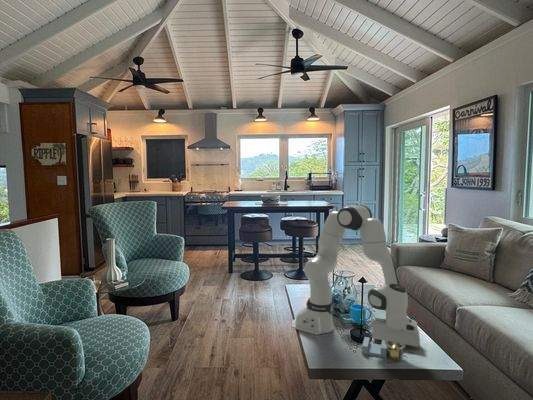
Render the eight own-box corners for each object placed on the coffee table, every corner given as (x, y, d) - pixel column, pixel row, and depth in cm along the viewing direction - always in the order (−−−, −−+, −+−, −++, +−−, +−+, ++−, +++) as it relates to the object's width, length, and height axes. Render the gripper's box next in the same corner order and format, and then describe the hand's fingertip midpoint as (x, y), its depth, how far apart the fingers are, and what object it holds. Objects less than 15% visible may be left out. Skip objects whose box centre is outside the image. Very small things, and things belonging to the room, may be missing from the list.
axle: (389, 359, 151) (389, 352, 150) (391, 344, 163) (391, 337, 163) (398, 361, 149) (398, 353, 149) (399, 346, 162) (399, 339, 162)
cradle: (362, 353, 157) (362, 345, 157) (364, 344, 166) (364, 336, 165) (386, 357, 153) (386, 350, 153) (387, 348, 162) (387, 340, 161)
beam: (374, 342, 167) (374, 332, 167) (375, 336, 173) (375, 327, 172) (419, 350, 160) (419, 340, 159) (418, 344, 165) (419, 334, 165)
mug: (353, 324, 186) (353, 310, 186) (348, 318, 194) (348, 304, 194) (374, 323, 187) (374, 309, 187) (368, 317, 196) (368, 303, 195)
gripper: (371, 320, 155) (369, 349, 156) (420, 328, 147) (419, 359, 148) (372, 314, 161) (371, 342, 162) (420, 322, 153) (419, 352, 154)
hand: (394, 350), depth 155 cm, fingers closed on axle, 4 cm apart
